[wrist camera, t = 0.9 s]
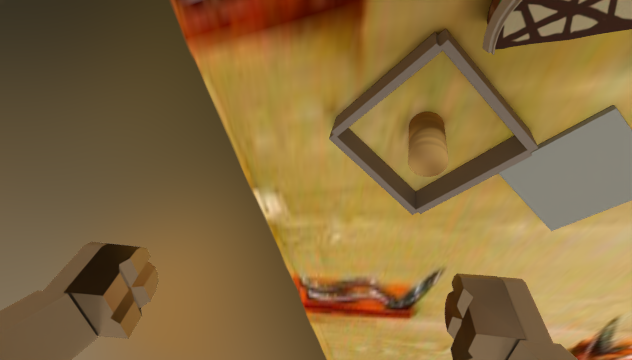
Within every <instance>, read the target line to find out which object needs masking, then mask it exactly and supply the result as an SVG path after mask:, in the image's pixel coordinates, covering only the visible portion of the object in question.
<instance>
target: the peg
mask: <svg viewBox="0 0 632 360" xmlns="http://www.w3.org/2000/svg"><path fill="white" fill-rule="evenodd" d="M408 164H409V167H410V169H411V170H412V171H413V172H414V173H416V174H418V175H420V176H425V177H431V176H435V175H438V174H440V173H441V172H443V171H444V170H445V169H446V167H447V165H448V152H447V144H446V136H445V128H444V122H443V120H442V118H441V117H440V116H439V115H438V114H436V113H433V112H422V113H419V114H417V115H416V116H415V117H414V118H413V119H412V120H411V122H410V125H409V153H408Z"/></svg>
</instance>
